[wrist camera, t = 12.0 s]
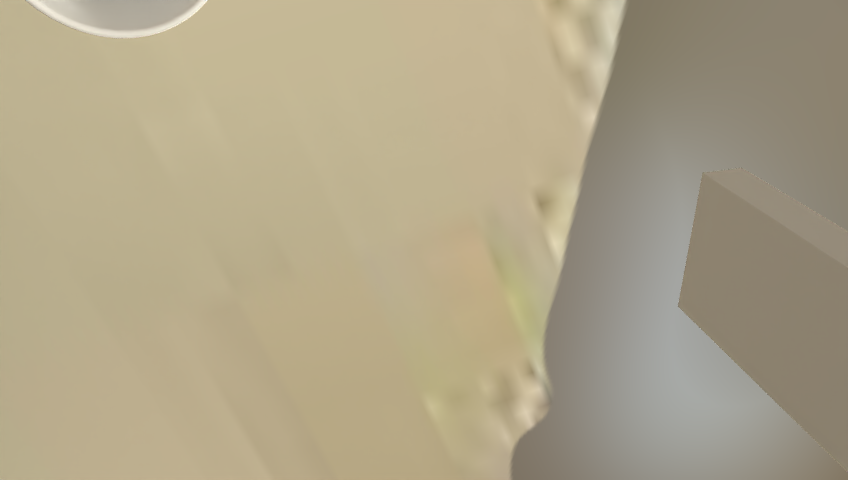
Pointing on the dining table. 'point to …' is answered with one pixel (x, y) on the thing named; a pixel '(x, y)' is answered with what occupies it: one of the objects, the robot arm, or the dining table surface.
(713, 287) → the robot arm
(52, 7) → the mug
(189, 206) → the dining table surface
